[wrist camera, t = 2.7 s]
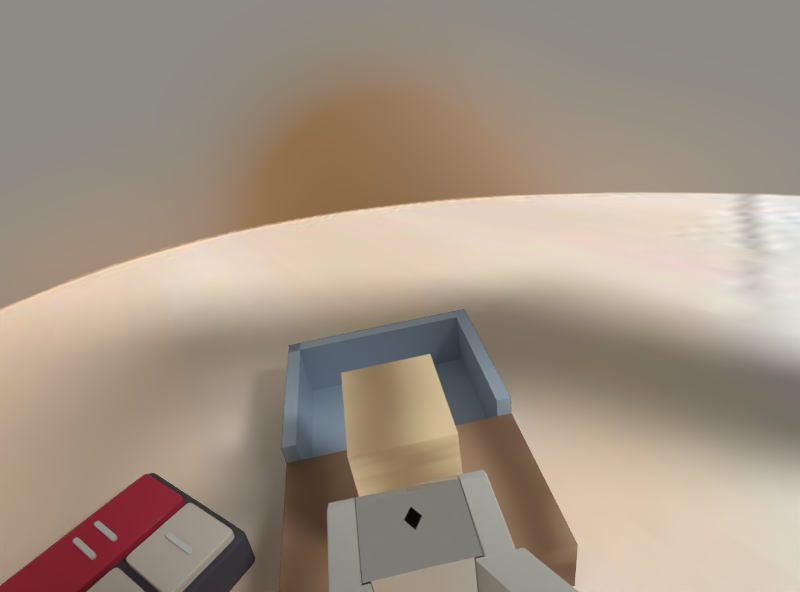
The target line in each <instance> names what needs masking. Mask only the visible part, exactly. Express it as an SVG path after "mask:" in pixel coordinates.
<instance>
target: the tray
mask: <svg viewBox="0 0 800 592" xmlns="http://www.w3.org/2000/svg"><path fill="white" fill-rule="evenodd" d="M427 354H430V355H431V358H432V360H433V363H434V366H435V369H436V372H437V375H438V378H439V380H440V383H441V386H442V389H443V392H444V395H445V398H446V400H447V403H448V406H449V409H450V412H451V415H452V418H453V420H454V423H455V426H456V425H461V424H465V423H470V422H474V421H479V420H483V419H488V418H492V417H497V416H501V415H506V414H510V413H511V397H510V395H509V393H508V391H507V389H506V388H505V386H504V384H503V382H502V380H501V378H500V376H499V374H498V372H497V370H496V368H495V367H494V365H493V363H492V361H491V359H490V357H489V355H488V353H487V351H486V349H485V347H484V346H483V344H482V342H481V340H480V338H479V336H478V334H477V332H476V330H475V328H474V326H473V325H472V323H471V321H470V319H469V317H468V315H467V313H466V311H465V309H463V310H458V311H453V312H448V313H443V314H439V315H434V316H429V317H424V318H419V319H414V320H410V321H405V322H400V323H395V324H390V325H386V326H381V327H376V328H371V329H366V330H362V331H357V332H352V333H347V334H342V335H337V336H333V337H328V338H323V339H318V340H313V341H309V342H304V343H299V344H294V345H289V354H288V367H287V379H286V392H285V405H284V418H283V431H282V443H281V449H282V452H283V454H284V457H285V459H286V462H287V463H290V462H295V461H299V460H304V459H308V458H313V457H317V456H322V455H326V454H331V453H335V452H340V451H344V450H347V443H346V430H345V417H344V404H343V391H342V378H341V373H343V372H347V371H352V370H357V369H361V368H366V367H371V366H376V365H380V364H385V363H390V362H394V361H399V360H404V359H408V358H413V357H418V356H423V355H427Z"/></svg>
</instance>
